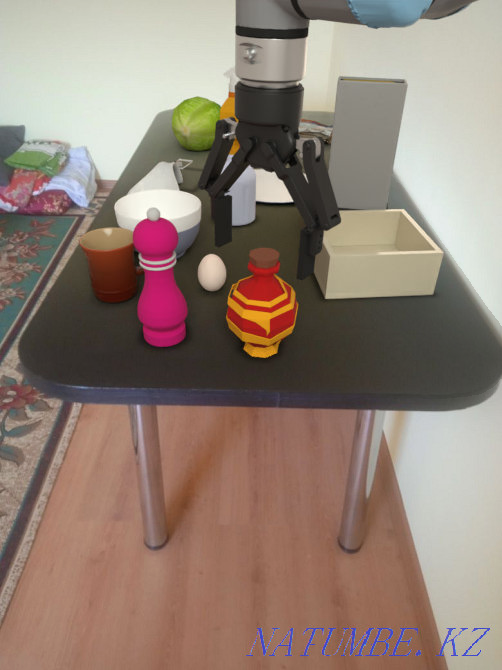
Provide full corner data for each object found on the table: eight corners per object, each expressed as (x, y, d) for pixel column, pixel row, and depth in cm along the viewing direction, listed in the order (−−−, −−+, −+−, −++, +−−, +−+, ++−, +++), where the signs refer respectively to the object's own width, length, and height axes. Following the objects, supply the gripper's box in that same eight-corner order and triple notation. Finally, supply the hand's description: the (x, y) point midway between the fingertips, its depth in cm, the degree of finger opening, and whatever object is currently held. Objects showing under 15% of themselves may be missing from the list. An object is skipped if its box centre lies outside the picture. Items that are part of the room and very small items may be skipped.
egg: (232, 290, 89) (232, 255, 85) (210, 300, 86) (209, 264, 82) (214, 280, 92) (213, 245, 88) (192, 289, 89) (190, 254, 85)
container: (323, 217, 122) (311, 79, 106) (404, 211, 118) (405, 65, 101) (321, 230, 116) (308, 85, 100) (406, 224, 112) (408, 71, 95)
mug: (92, 312, 82) (81, 253, 77) (86, 286, 89) (76, 230, 83) (166, 299, 86) (161, 243, 80) (155, 275, 93) (150, 222, 87)
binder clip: (183, 183, 133) (182, 161, 130) (169, 181, 134) (167, 160, 131) (193, 175, 138) (192, 154, 135) (179, 173, 139) (178, 153, 136)
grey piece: (245, 142, 165) (246, 125, 162) (262, 127, 182) (262, 110, 179) (339, 151, 159) (341, 133, 156) (347, 134, 176) (349, 117, 173)
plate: (210, 178, 136) (210, 174, 136) (294, 168, 145) (295, 164, 144) (247, 212, 118) (247, 207, 117) (341, 198, 126) (342, 193, 125)
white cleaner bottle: (260, 214, 117) (264, 97, 103) (246, 229, 110) (248, 105, 96) (224, 208, 119) (222, 93, 105) (208, 223, 112) (204, 101, 98)
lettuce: (215, 157, 148) (165, 159, 153) (238, 138, 166) (193, 140, 171) (207, 103, 140) (155, 107, 145) (232, 88, 158) (185, 92, 163)
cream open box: (433, 294, 89) (443, 252, 84) (325, 299, 87) (330, 256, 82) (396, 246, 104) (403, 209, 100) (304, 249, 102) (307, 211, 98)
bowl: (120, 273, 93) (113, 223, 88) (120, 236, 106) (114, 191, 100) (208, 266, 96) (206, 217, 90) (198, 231, 108) (196, 187, 103)
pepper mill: (136, 326, 79) (119, 201, 68) (182, 318, 81) (173, 195, 70) (145, 353, 74) (129, 222, 62) (194, 343, 76) (187, 214, 64)
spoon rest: (173, 222, 112) (171, 190, 108) (121, 219, 113) (117, 187, 109) (195, 184, 131) (194, 155, 127) (151, 181, 132) (148, 153, 128)
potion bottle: (308, 340, 77) (317, 249, 68) (273, 378, 70) (279, 281, 61) (249, 319, 82) (250, 231, 73) (210, 352, 74) (207, 258, 66)
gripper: (163, 70, 59) (174, 240, 71) (353, 104, 47) (327, 303, 59) (208, 63, 64) (211, 224, 76) (391, 93, 51) (360, 279, 64)
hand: (262, 259), depth 68 cm, fingers open, 13 cm apart
